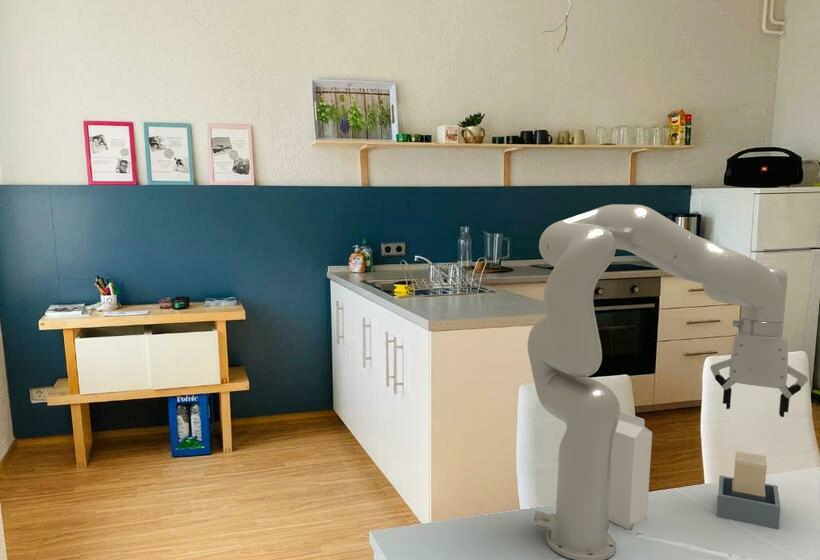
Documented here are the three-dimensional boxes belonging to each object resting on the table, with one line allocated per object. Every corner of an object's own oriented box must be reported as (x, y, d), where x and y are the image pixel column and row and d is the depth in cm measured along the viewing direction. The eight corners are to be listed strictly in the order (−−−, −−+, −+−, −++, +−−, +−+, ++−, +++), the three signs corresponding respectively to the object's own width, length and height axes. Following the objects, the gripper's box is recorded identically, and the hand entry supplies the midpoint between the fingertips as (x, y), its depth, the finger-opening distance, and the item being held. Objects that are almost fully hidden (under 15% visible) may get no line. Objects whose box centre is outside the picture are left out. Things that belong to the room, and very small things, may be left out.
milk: (629, 530, 128) (635, 422, 125) (603, 518, 133) (609, 413, 130) (647, 521, 132) (653, 416, 129) (621, 510, 137) (627, 408, 134)
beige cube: (733, 490, 133) (735, 459, 132) (733, 480, 138) (735, 450, 137) (764, 496, 131) (766, 465, 130) (763, 485, 136) (765, 455, 135)
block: (730, 513, 134) (732, 490, 133) (730, 502, 139) (732, 479, 138) (763, 520, 131) (765, 497, 130) (762, 508, 136) (764, 485, 136)
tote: (716, 521, 133) (718, 495, 132) (717, 499, 142) (719, 475, 142) (778, 534, 128) (780, 507, 127) (775, 510, 137) (777, 485, 137)
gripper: (713, 326, 131) (706, 409, 133) (813, 336, 123) (805, 423, 125) (714, 321, 138) (708, 399, 140) (810, 329, 130) (802, 413, 132)
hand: (754, 411), depth 132 cm, fingers open, 9 cm apart
